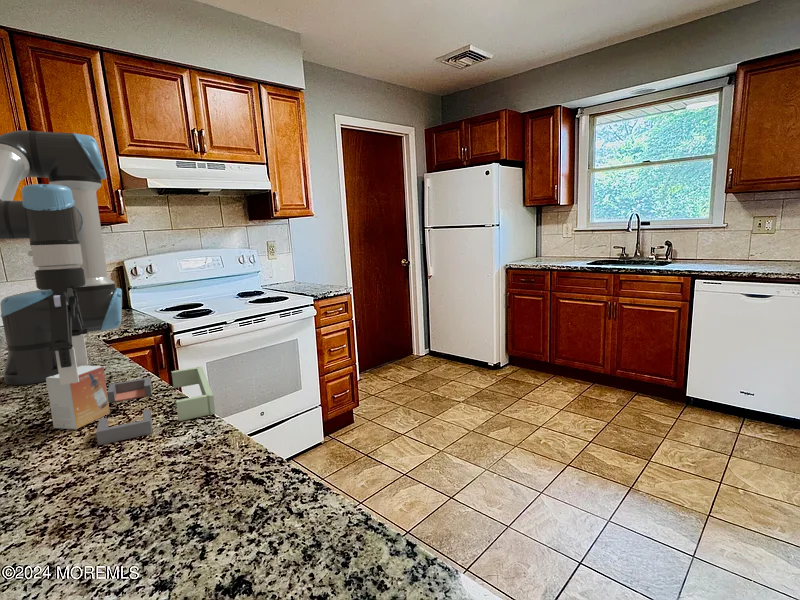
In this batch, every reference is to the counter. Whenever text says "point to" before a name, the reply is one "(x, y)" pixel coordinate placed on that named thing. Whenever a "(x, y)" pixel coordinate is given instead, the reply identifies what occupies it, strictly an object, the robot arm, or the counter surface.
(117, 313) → the robot arm
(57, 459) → the counter surface
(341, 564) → the counter surface
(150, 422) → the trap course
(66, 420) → the small box
